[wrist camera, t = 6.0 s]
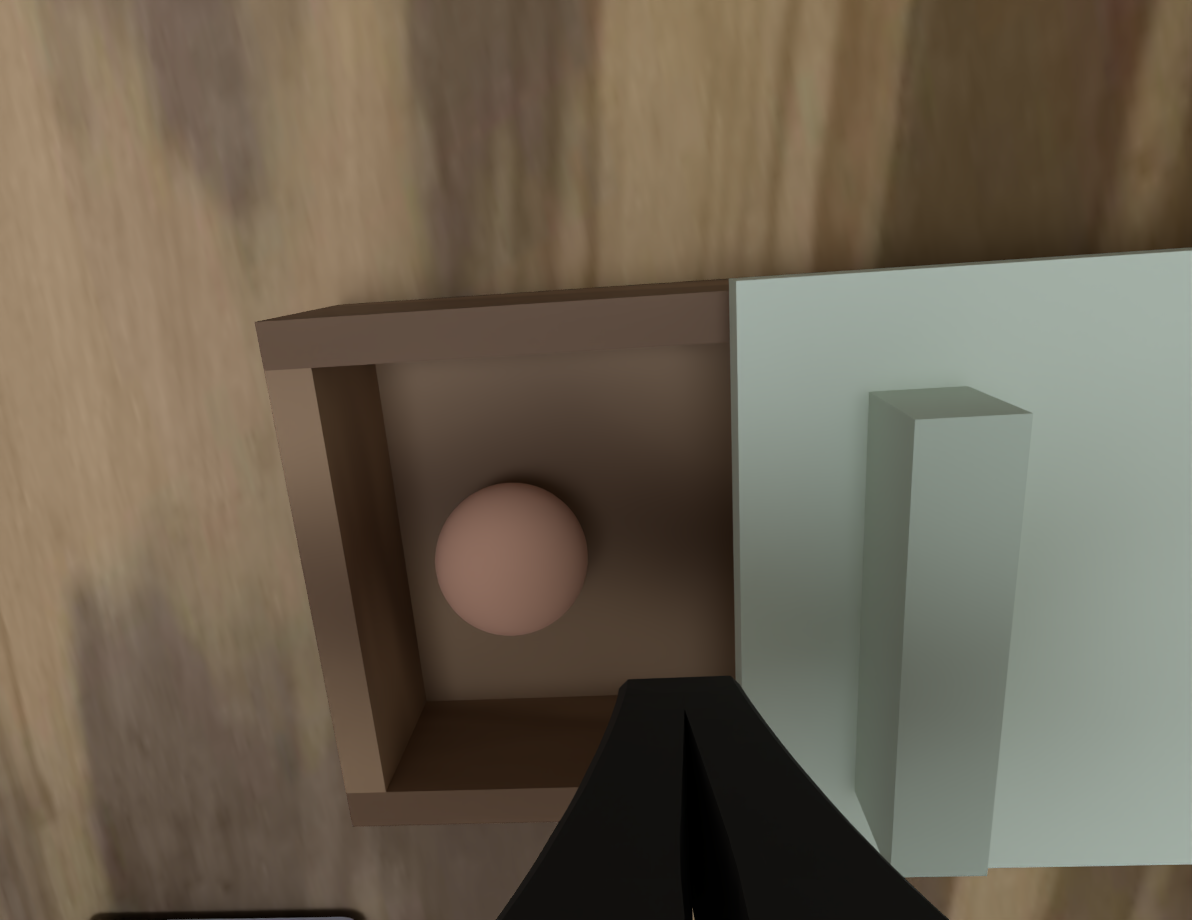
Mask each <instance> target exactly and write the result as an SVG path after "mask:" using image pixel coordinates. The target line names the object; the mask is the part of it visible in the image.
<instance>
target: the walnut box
mask: <svg viewBox="0 0 1192 920" xmlns="http://www.w3.org/2000/svg"><path fill="white" fill-rule="evenodd" d="M255 326H256V331H257V336H258V342H259V347H260V352H261V357H262V362H263V367H264V372H265V378H266V383H267V388H268V393H269V398H270V403H271V409H272V414H273V419H274V424H275V429H276V434H277V439H278V445H279V450H280V455H281V460H282V465H283V470H284V475H285V481H286V486H287V491H288V496H289V501H290V506H291V511H292V517H293V522H294V527H295V532H296V537H297V542H298V547H299V553H300V558H301V563H302V568H303V573H304V578H305V583H306V589H307V594H308V599H309V604H310V609H311V614H312V620H313V625H314V630H315V635H316V640H317V645H318V650H319V656H320V661H321V666H322V671H323V676H324V681H325V686H326V692H327V697H328V702H329V707H330V712H331V717H332V722H333V728H334V733H335V738H336V743H337V748H338V753H339V758H340V764H341V769H342V774H343V779H344V784H345V789H346V794H347V800H348V805H349V810H350V815H351V820H352V825H353V826H396V825H440V824H484V823H527V822H559V821H560V820H561V818H562V816H563V815H564V813H565V811H566V810H567V808H568V806H569V804H570V802H571V801H572V799H573V797H574V795H575V793H576V791H577V789H578V787H579V785H580V783H581V781H582V779H583V777H584V775H585V773H586V771H587V769H588V767H589V765H590V763H591V761H592V759H593V757H594V755H595V753H596V751H597V749H598V747H599V744H600V742H601V740H602V737H603V735H604V733H605V730H606V728H607V726H608V723H609V721H610V718H611V715H612V712H613V709H614V706H615V703H616V700H617V696H618V691H619V688H620V687H621V686H622V685H623V684H624V683H625V682H626V681H627V680H628V679H649V678H676V677H703V676H731V677H733V678H734V679H735V680H736V674H735V615H734V556H733V497H732V437H731V378H730V319H729V279H717V280H702V281H687V282H672V283H657V284H643V285H628V286H613V287H598V288H583V289H568V290H553V291H538V292H523V293H508V294H494V295H479V296H464V297H449V298H434V299H419V300H404V301H389V302H374V303H359V304H345V305H336V306H331V307H326V308H321V309H316V310H311V311H306V312H302V313H297V314H292V315H287V316H282V317H277V318H272V319H267V320H262V321H257V322H255ZM500 483H524V484H529V485H533V486H537V487H539V488H542V489H544V490H546V491H548V492H550V493H552V494H553V495H555V496H556V497H557V498H559V499H560V500H562V501H563V502H564V503H565V504H566V505H567V506H568V507H569V508H570V510H571V511H572V512H573V513H574V515H575V516H576V518H577V520H578V521H579V523H580V525H581V528H582V530H583V532H584V536H585V539H586V543H587V550H588V566H587V573H586V577H585V580H584V584H583V587H582V589H581V591H580V593H579V595H578V597H577V598H576V600H575V601H574V603H573V604H572V606H571V607H570V608H569V609H568V611H567V612H566V613H565V614H563V615H562V616H561V617H560V618H559V619H558V620H556V621H555V622H554V623H552V624H551V625H549V626H547V627H545V628H543V629H541V630H538V631H535V632H533V633H529V634H524V635H517V636H503V635H495V634H492V633H488V632H485V631H482V630H480V629H478V628H476V627H474V626H472V625H470V624H469V623H467V622H466V621H464V620H463V619H462V618H461V617H460V616H459V615H458V614H457V613H456V612H455V611H454V610H453V609H452V608H451V606H450V605H449V603H448V602H447V600H446V599H445V597H444V595H443V593H442V591H441V589H440V586H439V583H438V579H437V575H436V569H435V552H436V546H437V541H438V537H439V535H440V532H441V529H442V527H443V525H444V523H445V522H446V520H447V518H448V517H449V515H450V514H451V513H452V511H453V510H454V509H455V508H456V507H457V506H458V505H459V504H460V503H461V502H462V501H463V500H464V499H466V498H467V497H468V496H470V495H472V494H473V493H475V492H477V491H479V490H481V489H483V488H486V487H488V486H491V485H496V484H500Z"/></svg>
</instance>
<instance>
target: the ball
mask: <svg viewBox="0 0 1192 920" xmlns="http://www.w3.org/2000/svg"><path fill="white" fill-rule="evenodd" d="M587 566H588V550H587V543H586V539H585V536H584V532H583V530H582V528H581V525H580V523H579V521H578V520H577V518H576V516H575V515H574V513H573V512H572V511H571V510H570V508H569V507H568V506H567V505H566V504H565V503H564V502H563V501H562V500H560V499H559V498H557V497H556V496H555V495H553V494H552V493H550V492H548V491H546V490H544V489H542V488H539V487H537V486H533V485H529V484H524V483H500V484H496V485H491V486H488V487H486V488H483V489H481V490H479V491H477V492H475V493H473V494H472V495H470V496H468V497H467V498H466V499H464V500H463V501H462V502H461V503H460V504H459V505H458V506H457V507H456V508H455V509H454V510H453V511H452V513H451V514H450V515H449V517H448V518H447V520H446V522H445V523H444V525H443V527H442V529H441V532H440V535H439V537H438V541H437V546H436V552H435V569H436V575H437V579H438V583H439V586H440V589H441V591H442V593H443V595H444V597H445V599H446V600H447V602H448V603H449V605H450V606H451V608H452V609H453V610H454V611H455V612H456V613H457V614H458V615H459V616H460V617H461V618H462V619H463V620H464V621H466V622H467V623H469V624H470V625H472V626H474V627H476V628H478V629H480V630H482V631H485V632H488V633H492V634H495V635H503V636H517V635H524V634H529V633H533V632H535V631H538V630H541V629H543V628H545V627H547V626H549V625H551V624H552V623H554V622H555V621H556V620H558V619H559V618H560V617H561V616H562V615H563V614H565V613H566V612H567V611H568V609H569V608H570V607H571V606H572V604H573V603H574V601H575V600H576V598H577V597H578V595H579V593H580V591H581V589H582V587H583V584H584V580H585V577H586V573H587Z"/></svg>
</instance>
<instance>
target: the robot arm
mask: <svg viewBox="0 0 1192 920" xmlns="http://www.w3.org/2000/svg"><path fill="white" fill-rule="evenodd" d="M692 907H693V913H694V918H695V920H949V919H948V918H947V917H946V916H944V915H943V914H942V913H941V912H940V911H939V910H938V909H937V908H936V907H934V906H933V905H932V904H931V903H930V902H929V901H928V900H927V899H926V898H925V897H924V896H923V895H922V894H921V893H920V892H918V891H917V890H916V889H915V888H914V887H913V886H912V885H911V884H910V883H909V882H908V881H907V880H906V879H905V878H904V877H903V876H902V875H901V874H900V873H899V872H898V871H897V870H896V869H895V868H894V867H893V866H892V865H891V864H890V863H889V862H888V861H887V860H886V859H885V858H884V857H883V856H882V855H881V854H880V853H879V852H878V851H877V850H876V849H875V848H874V847H873V846H872V845H871V844H870V843H869V842H868V841H867V840H866V839H865V838H864V836H863V835H862V834H861V833H860V832H859V831H858V830H857V829H856V828H855V827H854V826H853V825H852V824H851V823H850V822H849V821H848V820H847V819H846V817H845V816H844V815H843V814H842V813H841V812H840V811H839V810H838V809H837V808H836V806H835V805H834V804H833V803H832V802H831V801H830V800H829V799H828V797H827V796H826V795H825V794H824V793H823V792H822V790H821V789H820V788H819V787H818V786H817V785H816V783H815V782H814V781H813V780H812V779H811V778H810V776H809V775H808V774H807V773H806V772H805V771H804V769H803V768H802V767H801V766H800V765H799V764H798V762H797V761H796V760H795V759H794V758H793V756H792V755H791V754H790V753H789V751H788V750H787V749H786V748H785V746H784V745H783V744H782V743H781V741H780V740H779V739H778V737H777V736H776V735H775V733H774V732H773V731H772V729H771V728H770V727H769V726H768V724H767V723H766V722H765V720H764V719H763V717H762V716H761V715H760V713H759V712H758V711H757V709H756V708H755V706H754V705H753V704H752V702H751V701H750V699H749V698H748V696H747V695H746V693H745V692H744V690H743V689H742V687H741V685H740V684H739V683H738V682H737V681H736V680H735V679H734V678H733V677H731V676H703V677H676V678H649V679H628V680H627V681H626V682H625V683H624V684H623V685H622V686H621V687H620V688H619V691H618V696H617V700H616V703H615V706H614V709H613V712H612V715H611V718H610V721H609V723H608V726H607V728H606V730H605V733H604V735H603V737H602V740H601V742H600V744H599V747H598V749H597V751H596V753H595V755H594V757H593V759H592V761H591V763H590V765H589V767H588V769H587V771H586V773H585V775H584V777H583V779H582V781H581V783H580V785H579V787H578V789H577V791H576V793H575V795H574V797H573V799H572V801H571V802H570V804H569V806H568V808H567V810H566V811H565V813H564V815H563V816H562V818H561V820H560V821H559V823H558V825H557V826H556V828H555V830H554V831H553V833H552V835H551V836H550V838H549V840H548V842H547V843H546V845H545V847H544V848H543V850H542V852H541V853H540V855H539V857H538V858H537V860H536V862H535V863H534V865H533V866H532V868H531V869H530V871H529V872H528V874H527V875H526V877H525V878H524V880H523V881H522V883H521V884H520V886H519V888H518V889H517V891H516V892H515V893H514V895H513V896H512V898H511V899H510V901H509V902H508V904H507V905H506V906H505V908H504V909H503V911H502V912H501V913H500V915H499V916H498V918H497V919H496V920H692ZM169 920H354V919H352V918H348V917H300V918H234V919H169Z"/></svg>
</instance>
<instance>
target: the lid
mask: <svg viewBox="0 0 1192 920" xmlns="http://www.w3.org/2000/svg"><path fill="white" fill-rule="evenodd" d="M729 319H730V378H731V437H732V497H733V556H734V615H735V674H736V681H737V682H738V683H739V684H740V685H741V687H742V689H743V690H744V692H745V693H746V695H747V696H748V698H749V699H750V701H751V702H752V704H753V705H754V706H755V708H756V709H757V711H758V712H759V713H760V715H761V716H762V717H763V719H764V720H765V722H766V723H767V724H768V726H769V727H770V728H771V729H772V731H773V732H774V733H775V735H776V736H777V737H778V739H779V740H780V741H781V743H782V744H783V745H784V746H785V748H786V749H787V750H788V751H789V753H790V754H791V755H792V756H793V758H794V759H795V760H796V761H797V762H798V764H799V765H800V766H801V767H802V768H803V769H804V771H805V772H806V773H807V774H808V775H809V776H810V778H811V779H812V780H813V781H814V782H815V783H816V785H817V786H818V787H819V788H820V789H821V790H822V792H823V793H824V794H825V795H826V796H827V797H828V799H829V800H830V801H831V802H832V803H833V804H834V805H835V806H836V808H837V809H838V810H839V811H840V812H841V813H842V814H843V815H844V816H845V817H846V819H847V820H848V821H849V822H850V823H851V824H852V825H853V826H854V827H855V828H856V829H857V830H858V831H859V832H860V833H861V834H862V835H863V836H864V838H865V839H866V840H867V841H868V842H869V843H870V844H871V845H872V846H873V847H874V848H875V849H876V850H877V851H878V852H879V853H880V854H881V855H882V856H883V857H884V858H885V859H886V860H887V861H888V862H889V863H890V864H891V865H892V866H893V867H894V868H895V869H896V870H897V871H898V872H899V873H900V874H901V875H902V876H903V877H944V876H987V871H988V868H1013V867H1068V866H1122V865H1176V864H1192V247H1191V248H1176V249H1161V250H1147V251H1132V252H1117V253H1102V254H1087V255H1072V256H1057V257H1042V258H1027V259H1012V260H998V261H983V262H968V263H953V264H938V265H923V266H908V267H893V268H878V269H864V270H849V271H834V272H819V273H804V274H789V275H774V276H759V277H744V278H729Z"/></svg>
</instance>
